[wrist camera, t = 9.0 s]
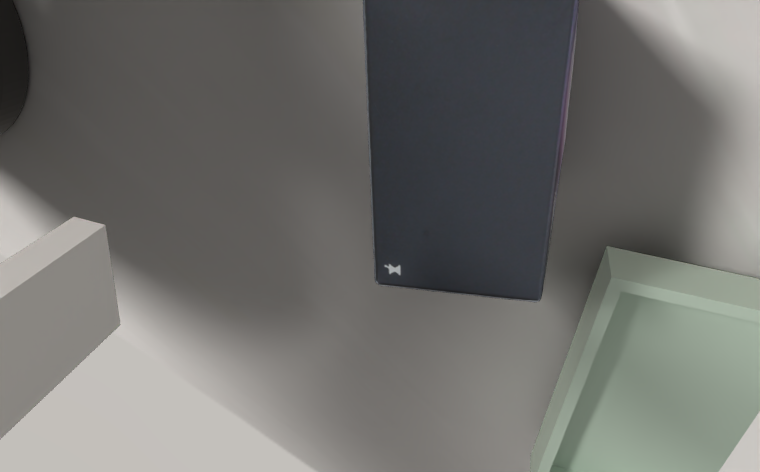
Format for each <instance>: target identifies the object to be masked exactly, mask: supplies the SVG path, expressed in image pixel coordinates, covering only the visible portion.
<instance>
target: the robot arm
mask: <svg viewBox="0 0 760 472" xmlns="http://www.w3.org/2000/svg"><path fill="white" fill-rule="evenodd" d="M27 86H28V58H27V50H26V45H25V39H24V35H23V31H22V28H21V24H20V21H19V18H18V15H17V12H16V9H15V7H14V4H13V2H12V0H0V134H2V133H3V132H5V131H6V130H7V129H8V128H9V127H10V126H11V125H12V124H13V123H14V121H15V120H16V118H17V117H18V115H19V113H20V111H21V109H22V106H23V104H24V101H25V97H26V92H27ZM119 326H120V318H119V311H118V305H117V298H116V291H115V285H114V278H113V271H112V265H111V258H110V251H109V245H108V238H107V232H106V225H104V224H100V223H96V222H92V221H89V220H85V219H81V218H77V217H73V218H71V219H69V220H68V221H66V222H65V223H63V224H62V225H60V226H58V227H57V228H55V229H54V230H52V231H51V232H49V233H47V234H46V235H44V236H43V237H41V238H40V239H38V240H36V241H35V242H33V243H32V244H30V245H29V246H27V247H25V248H24V249H22V250H21V251H19V252H18V253H16V254H14V255H13V256H11V257H10V258H8V259H7V260H5V261H4V262H2V263H0V439H1V438H2V437H3V436H4V435H5V434H6V433H7V432H8V431H10V430H11V429H12V427H14V426H15V425H16V424H17V423H18V422H19V421H20V420H21V419H22V418H23V417H24V416H25V415H26V414H27V413H28V412H30V411H31V409H32V408H34V407H35V406H36V405H37V404H38V403H39V402H40V401H41V400H42V399H43V398H44V397H45V396H46V395H47V394H48V393H49V392H50V391H52V390H53V389H54V388H55V387H56V386H57V385H58V384H59V383H60V382H61V381H62V380H63V379H64V378H65V377H66V376H67V375H68V374H69V373H70V372H71V371H72V370H74V369H75V367H77V366H78V365H79V364H80V363H81V362H82V361H83V360H84V359H85V358H86V357H87V356H88V355H89V354H90V353H91V352H92V351H93V350H95V349H96V348H97V347H98V345H100V344H101V343H102V342H103V341H104V340H105V339H106V338H107V337H108V336H109V335H110V334H111V333H112V332H113V331H114V330H116V329H117V328H118V327H119ZM719 472H760V412H759V413H758V414H757V416H756V417H755V419H754V420H753V422H752V423H751V425H750V426H749V428H748V429H747V431H746V432H745V434H744V435H743V437H742V438H741V440H740V441H739V442H738V444H737V445H736V447H735V448H734V450H733V451H732V453H731V454H730V456H729V457H728V459H727V460H726V462H725V463H724V465H723V466H722V467H721V469H720V470H719Z"/></svg>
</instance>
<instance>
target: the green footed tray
mask: <svg viewBox="0 0 760 472" xmlns="http://www.w3.org/2000/svg"><path fill="white" fill-rule="evenodd" d="M759 412H760V279H758V278H753V277H748V276H744V275H739V274H734V273H730V272H725V271H721V270H716V269H711V268H707V267H702V266H697V265H693V264H688V263H684V262H679V261H674V260H670V259H665V258H660V257H656V256H651V255H646V254H642V253H637V252H633V251H628V250H623V249H619V248H614V247H609V246H607V247H606V249H605V252H604V255H603V258H602V260H601V263H600V266H599V269H598V271H597V274H596V277H595V280H594V282H593V285H592V288H591V291H590V293H589V296H588V299H587V302H586V304H585V307H584V310H583V313H582V315H581V318H580V321H579V324H578V326H577V329H576V332H575V335H574V337H573V340H572V343H571V346H570V348H569V351H568V354H567V357H566V359H565V362H564V365H563V368H562V370H561V373H560V376H559V379H558V381H557V384H556V387H555V390H554V392H553V395H552V398H551V401H550V403H549V406H548V409H547V412H546V414H545V417H544V420H543V423H542V425H541V428H540V431H539V434H538V436H537V439H536V442H535V445H534V447H533V450H532V453H531V458H530V472H719V470H720V469H721V467H722V466H723V465H724V463H725V462H726V460H727V459H728V457H729V456H730V454H731V453H732V451H733V450H734V448H735V447H736V445H737V444H738V442H739V441H740V440H741V438H742V437H743V435H744V434H745V432H746V431H747V429H748V428H749V426H750V425H751V423H752V422H753V420H754V419H755V417H756V416H757V414H758V413H759Z"/></svg>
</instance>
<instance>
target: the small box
mask: <svg viewBox="0 0 760 472" xmlns="http://www.w3.org/2000/svg"><path fill="white" fill-rule="evenodd" d="M578 7H579V0H363V19H364V42H365V69H366V92H367V113H368V143H369V163H370V181H371V208H372V232H373V253H374V274H375V282H376V283H377V284H378V285H380V286H388V287H399V288H409V289H419V290H427V291H438V292H446V293H456V294H463V295H474V296H482V297H491V298H501V299H509V300H520V301H530V302H538V301H540V299H541V296H542V292H543V284H544V278H545V272H546V266H547V259H548V252H549V245H550V239H551V232H552V225H553V218H554V212H555V205H556V198H557V191H558V184H559V178H560V171H561V164H562V158H563V152H564V145H565V139H566V129H567V118H568V108H569V100H570V91H571V82H572V73H573V64H574V54H575V45H576V34H577V20H578Z"/></svg>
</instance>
